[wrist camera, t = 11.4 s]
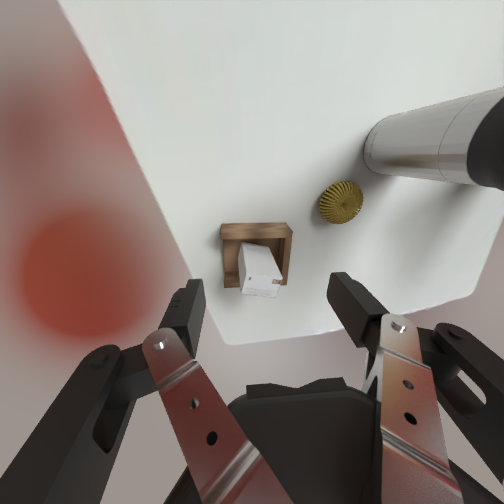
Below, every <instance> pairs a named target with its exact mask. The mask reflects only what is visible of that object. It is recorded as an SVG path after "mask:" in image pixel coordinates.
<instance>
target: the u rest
mask: <svg viewBox="0 0 504 504" xmlns="http://www.w3.org/2000/svg"><path fill="white" fill-rule="evenodd" d="M292 232H293V231H292V230H291V229H290V227H289V226H288V225H287V224H286V223H230V224H222V227H221V232H220V235H221V239H223V252H224V267H225V276H224V288H233V287H240V278H239V266H238V255H239V250H240V246H241V242H246V243H251V244H257V245H262V246H268V247H269V249H270V251H271V253H272V255H273V258H274V260H275V262H276V264H277V267H278V269H279V271H280V273H281V275H282V277H283V279H282V281H281V284H280V285H287V277H288V268H289V259H290V250H291V241H292Z"/></svg>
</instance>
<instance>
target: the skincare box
mask: <svg viewBox="0 0 504 504" xmlns="http://www.w3.org/2000/svg"><path fill="white" fill-rule="evenodd" d="M238 266H239V278H240V290H241V294H249V295H257V296H266V297H274V298H276V295H277V292H278V290H279V287H280V284H281V281H282V279H283V277H282V275H281V273H280V271H279V269H278V267H277V264H276V262H275V260H274V258H273V255H272V253H271V251H270V249H269V247H268V246H262V245H257V244H251V243H246V242H241V246H240V250H239V255H238Z"/></svg>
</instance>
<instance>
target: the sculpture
mask: <svg viewBox="0 0 504 504" xmlns="http://www.w3.org/2000/svg"><path fill="white" fill-rule="evenodd" d="M347 186H348V187H347ZM331 189H332V190H331ZM326 191H327V192H324V194H325V195H326V196H324V195H322V197H324V198H321V199H320V200H321V201H320V205H319V207H320V212H321V214H322V216H323V217H324V219H326V220H327V221H328V222H330V223H333V224H342V223H346V222H348V221H350V220H352V219H353V218H354V217H355V215H357V214H358V213H357V212H359V211H360V210H357V209H361V207H360V206H362V203H363V194H362V191H361V189H360V188H359V187H358V186H357V185H356V184H354V183H352V182H347V181H341V182H337V183H335V184H333V185H332V186H330V187H329V189H327V190H326ZM329 191H330V192H329ZM330 193H331V194H330ZM327 196H328V197H327ZM326 198H327V199H326ZM360 201H361V202H360ZM324 202H326V203H324ZM358 204H359V205H358ZM354 210H355V211H354ZM356 211H357V212H356Z"/></svg>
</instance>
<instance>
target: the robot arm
mask: <svg viewBox="0 0 504 504" xmlns="http://www.w3.org/2000/svg"><path fill="white" fill-rule="evenodd" d="M364 160H365V163H366V165H367V167H368V168H369V169H370V170H371V171H373V172H375V173H379V174H388V175H395V176H403V177H411V178H420V179H428V180H436V181H444V182H453V183H462V184H470V185H479V186H485V187H493V188H498V189H500V190H502V191H504V87H500V88H496V89H493V90H489V91H485V92H481V93H477V94H473V95H469V96H465V97H462V98H458V99H454V100H450V101H446V102H442V103H438V104H434V105H430V106H426V107H422V108H419V109H415V110H410V111H407V112H403V113H399V114H395V115H391V116H389V117H386V118H384V119H383V120H382V121H380V122H379V123H378V124H377V125H376V126H375V127H374V128H373V129H372V131H371V132H370V134H369V136H368V138H367V140H366V143H365V147H364ZM327 299H328V302H329V304H330V305H331V307H332V308H333V310H334V312H335V313H336V315H337V316H338V318H339V320H340V321H341V323H342V324H343V326H344V328H345V329H346V330H347V332H348V334H349V336H350V337H351V339H352V340H353V342H354V343H355V345H356V347H357V348H360V347H366V348H367V349H368V352H367V355H366V363H365V371H364V379H363V386H362V390H361V391H360V390H357V389H355V388H352V387H349V386H347V385H346V383H345V381H344V379H343V378H342V377H340V378H328V379H319V380H316V381H314V382H312V383H309V384H307V385H304V386H302V387H300V388H292V387H287V386H282V385H277V384H272V383H269V384H256V385H247V386H246V391H247V393H246V394H244V395H241V396H240V397H238V398H236V399H235V400H233V401H232V402H231V403H230V404H229V405H228V406H226V404H225V403H224V401H223V399H222V398H221V396H220V395H219V393H218V392H217V390H216V389H215V387H214V386H213V384H212V382H211V381H210V379H209V378H208V376H207V375H206V373H205V372H204V370H203V369H202V367H201V365H200V364H199V363H198V362H197V361H195V362H194V360H193V359H195V356H196V351H197V347H198V342H199V337H200V332H201V327H202V322H203V317H204V312H205V307H206V299H205V293H204V286H203V281H202V279H189V280H188V282H187V285H186V288H180V289H179V290H178V291H177V292H175V293H174V295H173V297H172V299H171V302H170V303H169V306H168V308H167V310H166V312H165V315H164V317H163V319H162V321H161V323H160V325H159V328H158V330H156V331H154V332H152V333H151V334H149V335H148V336H147V338H146V339H145V340H144V342H143V343H142V344H140V345H137V346H134V347H131V348H128V349H125V350H122V351H121V350H120V349H119V347H118V346H116V345H105V346H102V347H100V348H97V349H95V350H94V351H92V352H91V353H89V354H88V355H87V356H86V357H85V358H84V359H83V360H82V361H81V362H80V364H79V365H78V367H77V368H76V370H75V371H74V373H73V374H72V375H71V377H70V378H69V380H68V381H67V383H66V384H65V386H64V387H63V389H62V390H61V391H60V393H59V394H58V396H57V397H56V399H55V400H54V402H53V403H52V404H51V406H50V407H49V409H48V410H47V412H46V413H45V415H44V416H43V418H42V419H41V420H40V422H39V423H38V425H37V426H36V428H35V429H34V431H33V432H32V433H31V435H30V436H29V438H28V439H27V441H26V442H25V444H24V445H23V446H22V448H21V449H20V451H19V452H18V454H17V455H16V457H15V458H14V459H13V461H12V463H11V464H10V465H9V467H8V468H7V470H6V471H5V473H4V474H3V475H2V477H1V478H0V504H100V501H101V499H102V496H103V493H104V490H105V487H106V485H107V482H108V479H109V476H110V473H111V470H112V467H113V465H114V462H115V459H116V456H117V454H118V451H119V448H120V445H121V442H122V439H123V437H124V434H125V431H126V428H127V425H128V423H129V419H130V417H131V414H132V411H133V409H134V405H135V403H136V400H137V399H138V398H141V397H143V396H145V395H148V394H150V393H153V392H155V391H157V390H158V391H159V394H160V397H161V399H162V402H163V404H164V407H165V409H166V412H167V414H168V417H169V420H170V422H171V424H172V426H173V429H174V432H175V435H176V437H177V440H178V442H179V445H180V447H181V450H182V452H183V455H184V457H185V460H186V462H187V467H186V469H185V470H184V472H183V474H182V475H181V477H180V478H179V480H178V481H177V483H176V484H175V486H174V488H173V489H172V491H171V492H170V494H169V496H168V497H167V499H166V500H165V502H164V504H504V503H503V502H502V501H501V500H499V499H498V498H497V497H496V496H494V495H493V494H492V493H491V492H489V491H488V490H487V489H486V488H484V487H483V486H482V485H481V484H479V483H478V482H477V481H476V480H475V479H473V478H472V477H471V476H470V475H468V474H467V473H466V472H465V471H463V470H462V469H461V468H460V467H458V466H457V465H456V464H455V463H453V462H452V461H451V460H450V459H449V458H448V457H447V451H446V446H445V440H444V435H443V429H442V424H441V418H440V413H439V407H438V402H439V403H440V404H441V406H442V407H443V408H444V410H445V411H446V412H447V413H448V415H449V416H450V417H451V419H452V420H453V421H454V423H455V424H456V425H457V426H458V428H459V429H460V431H461V432H462V433H463V434H464V436H465V437H466V438H467V440H468V441H469V442H470V444H471V445H472V446H473V448H474V449H475V450H476V451H477V453H478V454H479V455H480V457H481V458H482V459H483V461H484V462H485V463H486V465H487V466H488V467H489V468H490V470H491V471H492V472H493V474H494V475H495V476H496V478H497V479H498V480H499V482H500V483H501V484H502V486H503V489H504V360H503V359H502V358H500V357H499V356H498V355H497V354H495V353H494V352H493V351H492V350H490V349H489V348H488V347H487V346H485V345H484V344H483V343H482V342H481V341H479V340H478V339H477V338H476V337H474V336H473V335H472V334H471V333H469V332H468V331H466V330H464V329H462V328H460V327H458V326H455V325H453V324H449V323H439V324H437V325H436V327H435V329H434V330H430V329H424V328H418V327H416V326H415V325H414V324H413V323H412V322H410V321H409V320H407V319H406V318H404V317H402V316H399V315H396V314H390V313H389V311H388V310H387V309H386V308H385V307H384V306H383V305H382V304H381V303H380V302H379V301H378V300H377V299H376V298H375V297H374V296H373V295H372V294H371V293H370V292H368V290H367V289H366V288H365V287H364V286H363V285H362V284H361V283H359V282H357V281H356V280H352V279H351V278H350V276H349V275H348V274H347V273H346V272H334V273H331V275H330V280H329V284H328V289H327ZM461 369H462V370H463V371H464V372H465V373H466V374H467V375H468V376H469V377H470V378H471V379H472V380H473V381H474V382H475V383H476V384H477V386H479V388H481V390H482V391H483V393H484V394H485V397H486V404H484V403H483V402H482V401H481V400H480V399H479V398H478V397H477V396H476V395H475V394H474V393H473V392H472V391H471V390H470V389H469V387H468V386H467V385H466V384H465V383H464V382H463V381H462V380H461V379H460V378H459V377H458V376H457V374H458V373H459V371H460V370H461ZM437 400H438V402H437Z"/></svg>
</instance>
